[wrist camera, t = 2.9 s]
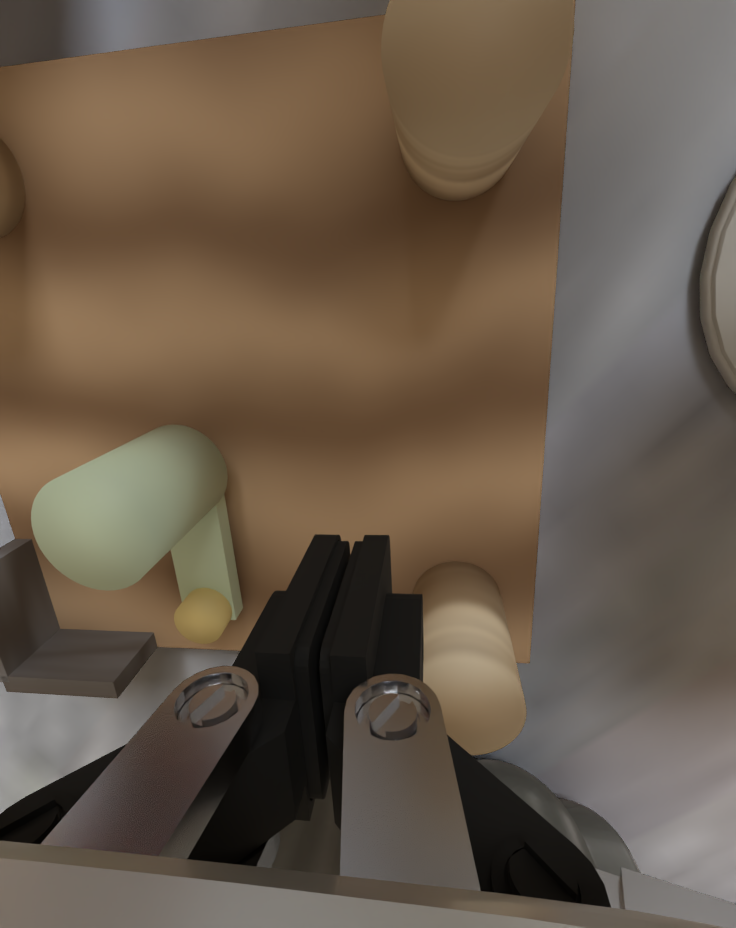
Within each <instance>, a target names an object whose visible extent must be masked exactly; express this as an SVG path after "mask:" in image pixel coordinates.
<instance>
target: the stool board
mask: <svg viewBox="0 0 736 928" xmlns="http://www.w3.org/2000/svg"><path fill="white" fill-rule="evenodd" d="M574 15H575V0H390V1H389V4H388V7H387V10H386V14H385V15H378V16H370V17H363V18H356V19H348V20H341V21H334V22H326V23H319V24H312V25H304V26H297V27H290V28H283V29H275V30H268V31H261V32H253V33H246V34H239V35H231V36H224V37H217V38H209V39H202V40H195V41H187V42H180V43H173V44H165V45H158V46H151V47H144V48H136V49H129V50H122V51H114V52H107V53H100V54H92V55H85V56H78V57H70V58H63V59H56V60H48V61H41V62H34V63H26V64H19V65H12V66H4V67H0V494H1V497H2V500H3V503H4V506H5V509H6V512H7V515H8V518H9V521H10V524H11V527H12V530H13V533H14V536H15V539H14V540H12V541H11V542H9V543H7V544H6V545H4V546H2V547H1V548H0V682H3V683H4V686H5V688H6V691H7V692H22V693H38V694H55V695H71V696H88V697H104V698H118V697H119V696H120V695H121V693H122V692H123V691H124V689H125V688H126V687H127V686H128V684H129V683H130V682H131V680H132V679H133V678H134V677H135V675H136V674H137V673H138V671H139V670H140V669H141V667H142V666H143V665H144V664H145V662H146V661H147V660H148V658H149V657H150V656H151V655H152V653H153V652H154V651H155V649H156V648H157V647H172V648H194V649H217V650H239V651H241V649H242V647H243V646H244V644H245V642H246V640H247V638H248V636H249V635H250V633H251V631H252V629H253V627H254V626H255V624H256V622H257V620H258V618H259V616H260V615H261V613H262V611H263V609H264V607H265V606H266V604H267V602H268V600H269V598H270V596H271V595H272V594H273V592H274V591H277V590H279V591H286V590H287V588H288V586H289V584H290V582H291V580H292V578H293V576H294V574H295V572H296V570H297V568H298V566H299V564H300V562H301V560H302V558H303V557H304V555H305V553H306V551H307V549H308V547H309V545H310V543H311V541H312V539H313V537H314V535H315V534H327V535H340V537H341V541H349V544H350V555H351V552H352V549H353V546H354V543H355V541H363V538H364V535H389V537H390V551H391V575H392V593H401V594H422V595H423V637H424V661H423V683H425V684H427V685H428V686H429V687H430V688H431V689H432V691H433V692H434V693H435V694H436V696H437V698H438V700H439V703H440V705H441V709H442V714H443V719H444V723H445V728H446V732H447V735H448V736H449V737H451V738H452V739H453V740H454V741H455V742H456V743H457V744H459V745H460V746H461V747H462V748H463V749H464V750H466V751H467V752H468V753H469V754H470V755H481V754H487V753H490V752H494V751H496V750H499V749H501V748H503V747H505V746H506V745H508V744H509V743H511V742H512V741H513V740H514V739H515V738H516V737H517V736H518V735H519V733H520V732H521V730H522V728H523V726H524V724H525V721H526V704H525V699H524V695H523V690H522V686H521V682H520V677H519V673H518V668H517V664H516V663H530V650H531V636H532V622H533V607H534V593H535V578H536V564H537V549H538V535H539V520H540V506H541V492H542V477H543V463H544V448H545V434H546V419H547V405H548V390H549V376H550V362H551V347H552V333H553V318H554V304H555V289H556V275H557V260H558V246H559V232H560V217H561V203H562V188H563V174H564V159H565V145H566V130H567V116H568V102H569V87H570V73H571V58H572V44H573V35H574ZM165 425H183V426H187V427H190V428H193V429H195V430H197V431H199V432H201V433H202V434H204V435H205V436H206V437H208V438H209V439H210V440H211V441H212V442H213V443H214V444H215V445H216V447H217V448H218V449H219V451H220V453H221V454H222V456H223V458H224V461H225V464H226V468H227V475H228V480H227V487H226V490H225V493H224V495H225V501H226V507H227V513H228V520H229V526H230V532H231V538H232V544H233V550H234V556H235V562H236V568H237V574H238V580H239V586H240V592H241V598H242V604H243V609H242V611H241V612H240V614H239V616H238V617H237V619H236V620H230V621H229V623H228V625H227V626H226V628H225V630H224V631H223V633H222V635H221V636H220V637H219V639H217V640H216V641H215V642H212V643H209V644H199V643H195V642H192V641H190V640H188V639H187V638H185V637H184V636H183V635H182V634H181V633H180V632H179V631H178V629H177V628H176V625H175V622H174V614H175V611H176V609H177V608H178V607H179V605H180V604H181V603H182V600H181V596H180V591H179V586H178V582H177V577H176V572H175V568H174V563H173V558H172V554H171V550H170V551H169V552H168V553H167V554H166V555H165V556H164V557H162V558H161V559H160V560H159V561H158V562H157V563H156V564H155V565H154V566H153V567H152V568H151V569H150V570H149V571H148V572H147V573H146V574H145V575H144V576H143V577H142V578H141V579H140V580H139V581H138V582H136V583H135V584H133V585H131V586H129V587H127V588H123V589H119V590H109V591H106V590H97V589H92V588H89V587H86V586H83V585H81V584H79V583H76V582H75V581H73V580H71V579H69V578H68V577H66V576H65V575H63V574H62V573H61V572H60V571H58V570H57V569H56V568H55V567H54V566H53V565H52V564H51V563H50V562H49V560H48V559H47V558H46V557H45V555H44V554H43V552H42V551H41V549H40V548H39V546H38V544H37V542H36V539H35V536H34V533H33V529H32V524H31V510H32V505H33V502H34V499H35V497H36V495H37V494H38V492H39V491H40V490H41V488H42V487H43V486H45V485H46V484H47V483H48V482H50V481H52V480H53V479H55V478H57V477H59V476H61V475H63V474H65V473H67V472H69V471H71V470H73V469H75V468H77V467H79V466H81V465H83V464H85V463H87V462H89V461H92V460H94V459H96V458H98V457H100V456H102V455H104V454H106V453H108V452H110V451H112V450H114V449H116V448H118V447H120V446H122V445H124V444H126V443H128V442H130V441H132V440H134V439H136V438H138V437H140V436H142V435H144V434H146V433H148V432H150V431H152V430H154V429H156V428H159V427H161V426H165Z"/></svg>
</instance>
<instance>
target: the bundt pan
mask: <svg viewBox="0 0 736 928" xmlns="http://www.w3.org/2000/svg"><path fill="white" fill-rule="evenodd" d="M477 761H478V762H479V763H481V764H482V765H483V766H484V767H485V768H486V769H488V770H489V771H490V772H491V773H492V774H493V775H494V776H496V777H497V778H498V779H499V780H500V781H501V782H503V783H504V784H505V785H506V786H507V787H508V788H510V789H511V790H512V791H513V792H514V793H515V794H516V795H518V796H519V797H520V798H521V799H522V800H523V801H525V802H526V803H527V804H528V805H529V806H530V807H532V808H533V809H534V810H535V811H536V812H537V813H538V814H540V815H541V816H542V817H543V818H544V819H545V820H547V821H548V822H549V823H550V824H551V825H552V826H554V827H555V828H556V829H557V830H558V831H559V832H560V833H562V834H563V835H564V836H565V837H566V838H567V839H569V840H570V841H571V842H572V843H573V844H574V845H576V847H577V848H578V849H579V850H580V851H581V852H582V853H583V854H584V855H585V856H586V857H587V858H588V859H589V861H590V862H591V863H592V864H593V866H594V868H595V869H598V870H602V871H605V872H608V873H611V874H614V875H617V876H620V871H621V867H623V868H626V869H629V870H632V871H635V872H638V873H640V871H639V869H638V867H637V865H636V863H635V861H634V859H633V857H632V855H631V853H630V851H629V849H628V847H627V846H626V844H625V843H624V841H623V840H622V838H621V837H620V836H619V835H618V833H617V832H616V831H615V830H614V829H613V828H612V827H611V826H610V824H609V823H608V822H607V821H606V820H605V819H603V818H602V817H601V816H599V815H598V814H597V813H595V812H594V811H593V810H591V809H589V808H587V807H585V806H583V805H581V804H578V803H576V802H574V801H570V800H565V799H558V798H557V797H556V796H555V794H554V793H553V792H552V791H551V790H550V789H549V788H548V787H547V786H546V785H545V784H543V783H542V782H541V781H540V780H538V779H537V778H536V777H535V776H533V775H532V774H530V773H528V772H527V771H525V770H523V769H521V768H520V767H517V766H515V765H513V764H510V763H506V762H503V761H499V760H489V759H482V760H477ZM340 855H341V831H340V829H339V828H338V827H337V825H336V824H335V821H334V811H333V801H332V791H331V781H330V780H329V785H328V789H327V793H326V797H325V799H324V800H323V799H315V802H314V806H313V810H312V815H311V819H310V821H302V820H294V821H293V822H292V823H290V824H289V825H288V826H286V827H285V828H284V829H282V830H281V831H280V844H279V848H278V851H277V855H276V857H275V860H274V862H273V864H272V867H271V868H275V869H284V870H294V871H303V872H313V873H322V874H331V875H340Z"/></svg>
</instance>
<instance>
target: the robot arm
mask: <svg viewBox="0 0 736 928" xmlns="http://www.w3.org/2000/svg"><path fill="white" fill-rule="evenodd" d="M423 661H424V637H423V595H422V594H401V593H392V575H391V551H390V537H389V535H364V538H363V541H355V543H354V546H353V549H352V552H351V555H350V544H349V541H341V537H340V535H327V534H315V535H314V537H313V539H312V541H311V543H310V545H309V547H308V549H307V551H306V553H305V555H304V557H303V558H302V560H301V562H300V564H299V566H298V568H297V570H296V572H295V574H294V576H293V578H292V580H291V582H290V584H289V586H288V588H287V590H286V591H279V590H277V591H274V592H273V594H272V595H271V596H270V598H269V600H268V602H267V604H266V606H265V607H264V609H263V611H262V613H261V615H260V616H259V618H258V620H257V622H256V624H255V626H254V627H253V629H252V631H251V633H250V635H249V636H248V638H247V640H246V642H245V644H244V646H243V647H242V649H241V651H240V653H239V655H238V656H237V658H236V660H235V662H234V664H233V666H220V667H214V668H209V669H207V670H204V671H201V672H199V673H196V674H194V675H193V676H191V677H189V678H188V679H186V680H184V681H183V682H182V683H181V684H180V685H179V686H178V687H176V688H175V689H174V690H173V691H172V692H171V694H170V695H169V696H168V697H167V698H166V699H165V701H164V702H163V703H162V704H161V705H160V706H159V707H158V709H157V710H156V711H155V712H154V713H153V714H152V716H151V717H150V718H149V719H148V720H147V721H146V723H145V724H144V725H143V726H142V727H141V728H140V729H139V731H138V732H137V733H136V734H135V735H134V736H133V738H132V739H131V740H130V741H129V742H128V743H127V744H126V745H124V746H122V747H120V748H118V749H116V750H114V751H113V752H111V753H109V754H107V755H105V756H103V757H101V758H99V759H97V760H95V761H93V762H91V763H89V764H88V765H86V766H84V767H82V768H80V769H78V770H76V771H74V772H72V773H70V774H68V775H66V776H65V777H63V778H61V779H59V780H57V781H55V782H53V783H51V784H49V785H47V786H45V787H43V788H41V789H40V790H38V791H36V792H34V793H32V794H30V795H28V796H26V797H25V798H23V799H21V800H20V801H18V802H17V803H15V804H13V805H12V806H10V807H9V808H7V809H6V810H5V811H4V812H2V813H1V814H0V928H736V904H734V903H731V902H728V901H725V900H722V899H719V898H716V897H713V896H710V895H706V894H703V893H700V892H697V891H694V890H691V889H688V888H685V887H682V886H679V885H675V884H672V883H669V882H666V881H663V880H660V879H657V878H654V877H651V876H648V875H645V874H641V873H638V872H635V871H632V870H629V869H626V868H623V867H621V871H620V876H617V875H614V874H611V873H608V872H605V871H602V870H598V869H595V868H594V866H593V864H592V863H591V862H590V861H589V859H588V858H587V857H586V856H585V855H584V854H583V853H582V852H581V851H580V850H579V849H578V848H577V847H576V845H574V844H573V843H572V842H571V841H570V840H569V839H567V838H566V837H565V836H564V835H563V834H562V833H560V832H559V831H558V830H557V829H556V828H555V827H554V826H552V825H551V824H550V823H549V822H548V821H547V820H545V819H544V818H543V817H542V816H541V815H540V814H538V813H537V812H536V811H535V810H534V809H533V808H532V807H530V806H529V805H528V804H527V803H526V802H525V801H523V800H522V799H521V798H520V797H519V796H518V795H516V794H515V793H514V792H513V791H512V790H511V789H510V788H508V787H507V786H506V785H505V784H504V783H503V782H501V781H500V780H499V779H498V778H497V777H496V776H494V775H493V774H492V773H491V772H490V771H489V770H488V769H486V768H485V767H484V766H483V765H482V764H481V763H479V762H478V761H477V760H476V759H475V758H474V757H473V756H471V755H470V754H469V753H468V752H467V751H466V750H464V749H463V748H462V747H461V746H460V745H459V744H457V743H456V742H455V741H454V740H453V739H452V738H451V737H449V736H448V735H447V732H446V728H445V723H444V719H443V714H442V709H441V705H440V703H439V700H438V698H437V696H436V694H435V693H434V692H433V691H432V689H431V688H430V687H429V686H428V685H427V684H425V683H423ZM329 780H330V781H331V791H332V801H333V811H334V821H335V824H336V825H337V827H338V828H339V829H340V831H341V855H340V875H331V874H322V873H313V872H303V871H294V870H284V869H275V868H271V867H272V864H273V862H274V860H275V857H276V855H277V851H278V848H279V844H280V831H281V830H282V829H284V828H285V827H286V826H288V825H289V824H290V823H292V822H293V821H294V820H302V821H310V819H311V815H312V810H313V806H314V802H315V799H323V800H324V799H325V797H326V793H327V789H328V785H329Z"/></svg>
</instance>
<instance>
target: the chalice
mask: <svg viewBox="0 0 736 928" xmlns="http://www.w3.org/2000/svg"><path fill="white" fill-rule="evenodd" d="M700 320H701V324H702V328H703V332H704V336H705V339H706V343H707V347H708V351H709V355H710V357H711V359H712V360H713V362H714V364H715V365H716V367H717V369H718V370H719V372H720V374H721V375H722V377H723V379H724V381H725V382H726V384H727V386H728V387H729V388H730V389H731V390H732V391H733V392H734V393H735V394H736V176H735V178H734V179H733V181H732V182H731V184H730V186H729V188H728V191H727V193H726V195H725V197H724V200H723V202H722V204H721V206H720V209H719V211H718V213H717V215H716V218H715V220H714V222H713V224H712V227H711V229H710V232H709V236H708V241H707V245H706V250H705V254H704V259H703V263H702V268H701V272H700Z"/></svg>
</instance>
